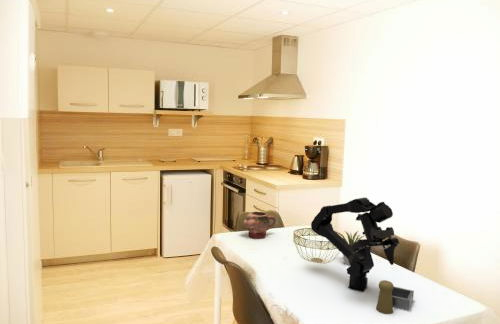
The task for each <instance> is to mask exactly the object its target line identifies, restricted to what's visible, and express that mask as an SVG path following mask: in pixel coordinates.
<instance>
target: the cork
mask: <svg viewBox="0 0 500 324" xmlns="http://www.w3.org/2000/svg"><path fill="white" fill-rule="evenodd" d="M393 286H394V284H393V282H392V281H389V280H381V281H379V283H378V289H379V294H378V297H377V302H376V308H375V310H376V311H377V312H378V313H380V314H384V315H391V314H393V313H394V307H393V304H392V291H393Z"/></svg>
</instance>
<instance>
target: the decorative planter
mask: <svg viewBox="0 0 500 324" xmlns="http://www.w3.org/2000/svg"><path fill="white" fill-rule="evenodd" d="M270 220H272V221H273V222H272V224H271V225H270ZM276 221H277V220H276V217H275V216H273V215H268V213H266V212H264V211H262V212H261V211H253V212H250V213H248V214H247V215H246V217H245V219H244V220H243V225H244V227H246V228H247V230H248V237H249V238H251V239H255V240H263V239H265V238H266V237H267V231H268V230H270V229H272V228H273V227H274V225H275V223H276Z"/></svg>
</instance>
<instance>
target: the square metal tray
mask: <svg viewBox="0 0 500 324" xmlns="http://www.w3.org/2000/svg"><path fill="white" fill-rule="evenodd" d="M414 294H415V290H412V289H406V288H402V287H398V286H394V285H393V291H392V304H393V309H398V308H399V309H398V310H402V309H403V310H402V311H406V310H407V311H406V312H410V310H411V307H412V305H413V302H414ZM411 304H412V305H411Z"/></svg>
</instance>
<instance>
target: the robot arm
mask: <svg viewBox="0 0 500 324" xmlns="http://www.w3.org/2000/svg"><path fill="white" fill-rule="evenodd" d="M346 212H347V213H354V214H357V216H356V218H355V221H360V223H361V225H362V229H363V231H362V236H364V237H365V239H360V240H358V241H356V242H355V243H353V246H350V245H349V242H348V241H347V240H346V241H347V242H348V243H347V242H346V241H345V240H344V239H343V238H342V235H340V234H339V233H337V231H335V230H334V227H333V224H332V222H333V221H332V220H333V215H334V214H341V213H346ZM393 216H394V213H393V210H392V208H391V207H390V206H389V205H388V204H386V203H385V201H380V202H378V203H377V204H374V203H373V202H371V201H370V199H369V198H368V197H358V198H354V199H352V200H349V201H348V202H345V203H340V204H335V205H334V204H333V205H324V206H322V207H321V208H320V210H319V212H318V213H317V214H316V215H315V216H314V218H313V219H312V221H311V223H310V229H311V231H312V232H313V233H314V234H316V235H318V236H320V237H323V238H325V239H326V240H327V241H328V242H329V243H330V244H331V245H333V246H334V247H335V248H336V249H337V250H338V251H339V252H340V253H341V254H342V256H343V255H344V256H346V257H347V258H348V260H349V264H350V265H349V267H347V268H346V272H347V275H349V283H348V284H349V285H348V286H347V289H350V290H353V291H358V292H364V291H365V290H367V288H368V280H369V279H368V277H367V275H368V274H369V273H370V272H371V270H372V269H373V267H375V263H374V259H373V257H372V253H371V248H372V247H382V248H383V253H384V254H385V256H386V259H387V261H388V263H389V264H390V265H391V266H393V265H394V262H395V261H394V258H395V257H394V256H395V255H394V254H395V250H396V248H397V247H398V245H400V240H399V239H398V238H397V237H392V236H394V235H395V230H394V228H393V227H392V226H389V227H386V228H385V229H382V227H381V226H378V223H379V224H381V223H383V222H385V221H387V220H389V219H391V218H392V217H393Z"/></svg>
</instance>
